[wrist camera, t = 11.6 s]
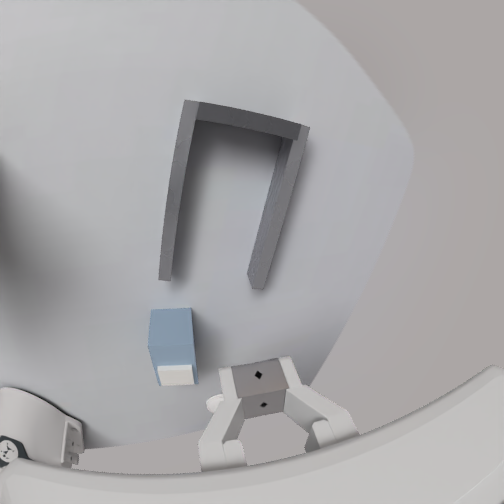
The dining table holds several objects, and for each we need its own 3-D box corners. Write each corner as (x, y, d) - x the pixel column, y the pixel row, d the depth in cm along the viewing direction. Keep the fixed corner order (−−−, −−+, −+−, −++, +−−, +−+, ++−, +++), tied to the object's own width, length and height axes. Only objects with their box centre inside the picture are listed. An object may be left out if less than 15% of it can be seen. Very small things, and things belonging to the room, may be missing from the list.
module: (195, 348, 31) (199, 388, 26) (159, 350, 30) (159, 390, 25) (191, 307, 28) (193, 349, 23) (151, 309, 27) (147, 351, 22)
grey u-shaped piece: (257, 274, 27) (265, 294, 25) (160, 264, 25) (157, 285, 22) (298, 124, 21) (314, 128, 19) (185, 100, 19) (184, 99, 16)
